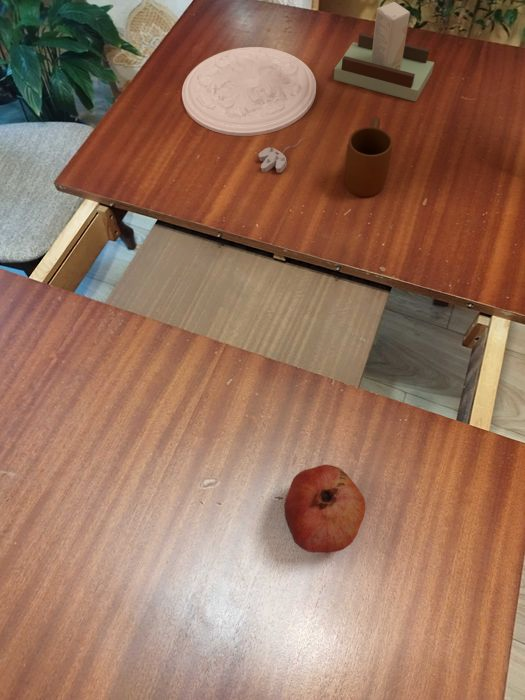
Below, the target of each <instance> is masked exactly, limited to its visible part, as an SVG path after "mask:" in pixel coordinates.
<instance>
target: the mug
mask: <svg viewBox="0 0 525 700" xmlns="http://www.w3.org/2000/svg"><path fill="white" fill-rule="evenodd" d="M380 126H381V118H380V117H379V116H377V115H374V116H372V117H371V118H370V121H369V126H364V127H360V128H358V129H356V130H354V131H353V132H352V133H351V134H350V136H349V138H348V142H347V147H346V152H345V153H346V155H345V162H344V171H343V172H344V174H343V183H344V187H345V188H346V189H347V191H348V192H349V193H351V194H352V195H355V196H357V197H363V198H368V197H373V196H376V195H378V194H379V193H381V191H383V189H384V188H385V185H386V182H387V178H388V173H389V169H390V163H391V158H392V153H393V145H394V143H393V138H392V136H391V134H390V133H389V132H387V131H386V130H385V129H382V128H380Z"/></svg>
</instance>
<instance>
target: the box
mask: <svg viewBox="0 0 525 700" xmlns="http://www.w3.org/2000/svg"><path fill="white" fill-rule="evenodd" d="M410 15H411V11H410V10H408V9H406V8H404V7H403V6H402V5H401V4H399V3H397V2H396V1H392V2H390V3H388V4H384V5H383V6H382V5H381V6H380V7H377V8H376V14H375V23H374V32H373V36H374V40H373V49H372V57H371V63H374V64H378V65H382V66H386V67H390V68H394V69H400V68H401V65H402V59H403V53H404V46H405V43H406V40H407V34H408V27H409V21H410Z"/></svg>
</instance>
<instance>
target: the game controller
mask: <svg viewBox="0 0 525 700" xmlns="http://www.w3.org/2000/svg"><path fill="white" fill-rule="evenodd" d="M303 140H306V138H302V139H300V140H299V141H298V142H297V144H299V143H300V142H301V141H303ZM297 144H295V145H294V146H293V148H295V147H297ZM289 148H292V146H291V145H289V146H287V147H286V148H284V150H283V152H285V151H286V150H287V149H289ZM283 152H281V151H280V150H278V149H277V148H274V147H266V148H264V149H263V150H261V151H260V152H259V153H258V158H259V159H258V160H259V161H260V162H262V163H261V164H260V169H261V172H262V173H267V172H268V171H270V170H271V169H273V168H274V167H275V170H276V173H278V174H280V173H283V171H284V170H286V169H285V168H287V166H288V162H287V157H286V155H285V154H284V153H283Z"/></svg>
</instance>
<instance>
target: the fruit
mask: <svg viewBox="0 0 525 700" xmlns="http://www.w3.org/2000/svg"><path fill="white" fill-rule="evenodd" d="M283 506H284V507H283V510H284V511H283V512H284V519H285V520H286V524H287V527H288V529H289V532H290V534H291V537H292V540H293V542H294V543H295V544H296V546H298V547H299V548H300V549H301V550H304V551H306V552H308V553H324V554H328V553H335V552H340V551H342V550H345V549H346V548H348V547H349V546H350V545H351V544H352V543H353V542H354V540H355V539H356V537H357V536H358V533H359V529H360V526H361V524H362V522H363V521H364V517H365V514H366V513H365V512H366V501H365V497H364V495H363V493H362V492H361V491H360V489H359V487H358V486H357V485H356V484H355V482H354V481H353V480H352V479H351V477H350V476H349V475H348V474H347V473H346V472H345V471H344V470H343V469H342V468H340V467H338V466H335V465H331V464H321V465H318V466H315V467H311V468H307V469H303V470H302V471H299V472H298V473H297V474H296V475H295V476H294V477H293V479H292V481H291V483H290V486H289V489H288V491H287V494H286V495H285V499H284V505H283Z"/></svg>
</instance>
